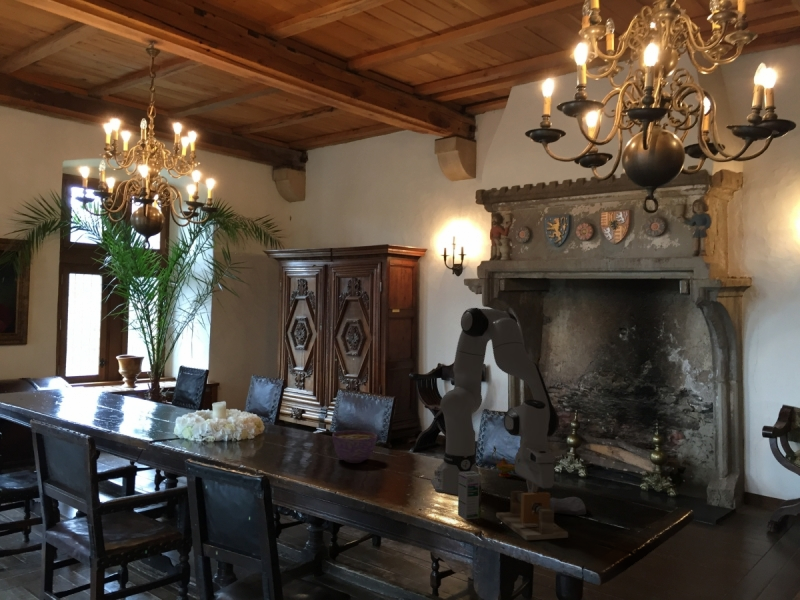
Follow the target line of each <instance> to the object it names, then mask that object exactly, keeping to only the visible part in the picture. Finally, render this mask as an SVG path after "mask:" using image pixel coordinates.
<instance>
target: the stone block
mask: <svg viewBox="0 0 800 600" xmlns="http://www.w3.org/2000/svg"><path fill="white" fill-rule="evenodd" d="M550 509H552V510H554V514H560V515H561V514H562V515H570V516H584V515H585V514H586V515H587V508H586V505H585V503H584V501H583V499H581V498H579V497H577V496H569V497H565V498H556V497H550ZM586 515H585V516H586Z"/></svg>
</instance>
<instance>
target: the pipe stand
mask: <svg viewBox="0 0 800 600" xmlns="http://www.w3.org/2000/svg"><path fill="white" fill-rule="evenodd" d="M521 493H525V491H524V490H520V489H519V490H510V502H509V504H510V507H509V509H510V510H509V511H503V512H501V511H500V512H496V518H497V519H498V520H499V521H501V522H503V524H505V525H506V526H507V527H508V528H510V529H511V530H513V532H515V533H516V534H518V535H519V536H520V537H521V538H523V539H524V540H525V541H536V540H537V541H538V540H552V539H564V538H569V532H568V531H566V530H565V529H563V527H560V526H558V525H557V524H556V523H555V513H554V510H552V509H544V508H542V507H541V506H540V505H539V503H532V512H535V513H537V514H539V523H525V524H523V523H522V522H520V519H521Z"/></svg>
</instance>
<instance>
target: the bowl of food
mask: <svg viewBox="0 0 800 600" xmlns="http://www.w3.org/2000/svg"><path fill="white" fill-rule="evenodd" d="M331 435H332V441H333V445H334V449H335V454H336V455H337V457H338V458H340V459H341V460H343V461H344V462H346V463H350V464H359V463H363V462H364V461H366V460H368V459H369V458H371V457H372V454H373V453H374V449H375V446H376V443H377V439H378V434H377V433H374V432H372V431H366V430H365V431H364V430H342V431H334V432H332V434H331Z"/></svg>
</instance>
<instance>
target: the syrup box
mask: <svg viewBox="0 0 800 600" xmlns="http://www.w3.org/2000/svg"><path fill="white" fill-rule="evenodd" d="M482 475H483V474H481V473H480V472H479V473H477V472H474V471H472V472H459V486H458V498H457V515H458V516H459V517H460V518H462V519H463V520H465V521H469V520H476V519H481V517H482V490H481V486H482V484H483V483H482V480H483V478H482Z"/></svg>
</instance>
